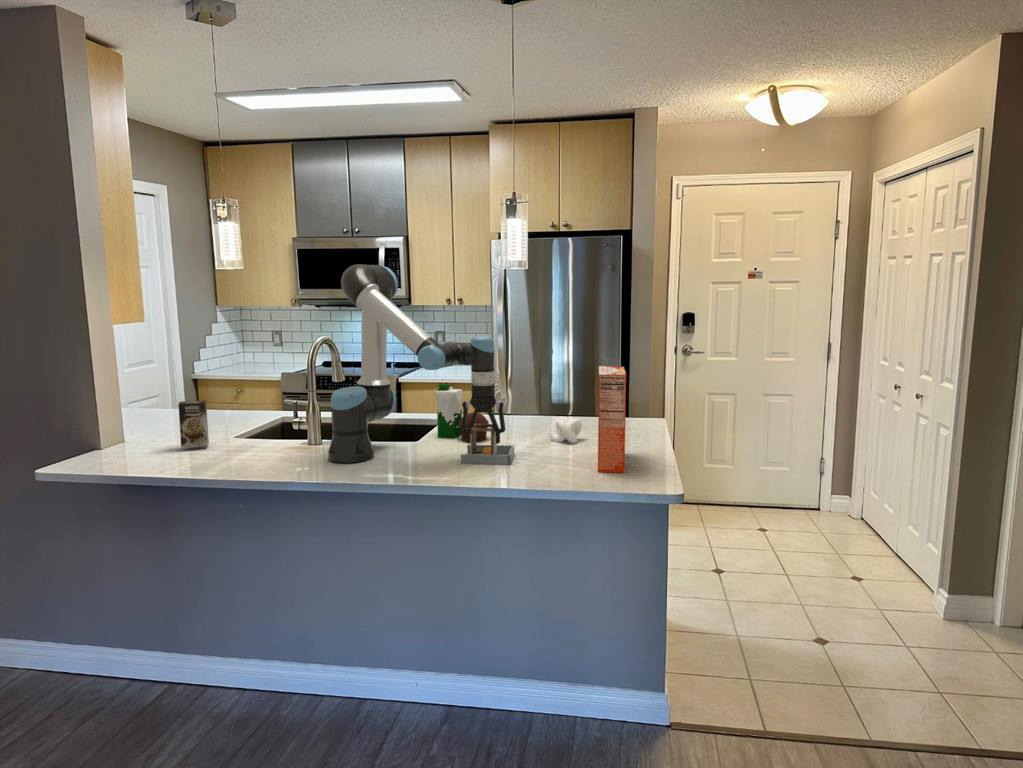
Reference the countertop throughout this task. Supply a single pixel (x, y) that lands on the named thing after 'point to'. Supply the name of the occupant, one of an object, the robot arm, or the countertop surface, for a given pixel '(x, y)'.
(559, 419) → the white knot sculpture
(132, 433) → the countertop surface
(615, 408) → the cereal box
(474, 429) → the open box frame
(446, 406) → the milk carton
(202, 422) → the brown tall box
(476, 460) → the u-shaped frame
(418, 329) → the robot arm
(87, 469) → the countertop surface
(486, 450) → the ball
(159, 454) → the countertop surface
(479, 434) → the muffin
